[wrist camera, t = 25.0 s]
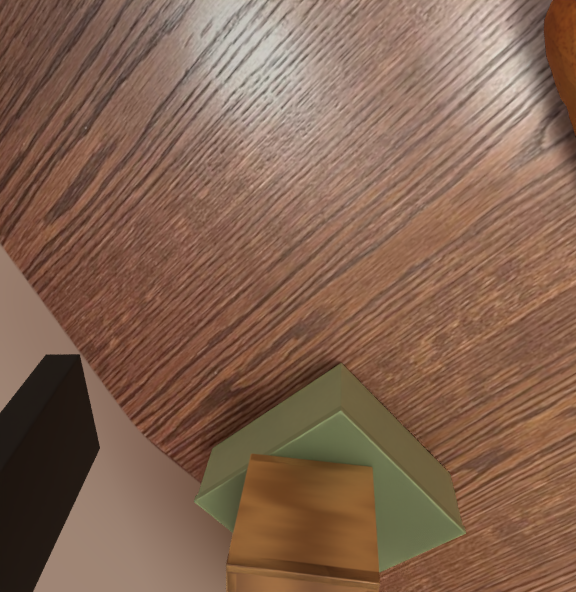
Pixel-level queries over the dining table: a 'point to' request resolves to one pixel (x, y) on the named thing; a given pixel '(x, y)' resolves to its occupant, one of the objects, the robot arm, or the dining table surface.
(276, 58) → the dining table surface
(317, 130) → the dining table surface
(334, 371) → the green box
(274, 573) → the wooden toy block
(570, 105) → the cuneiform tablet
